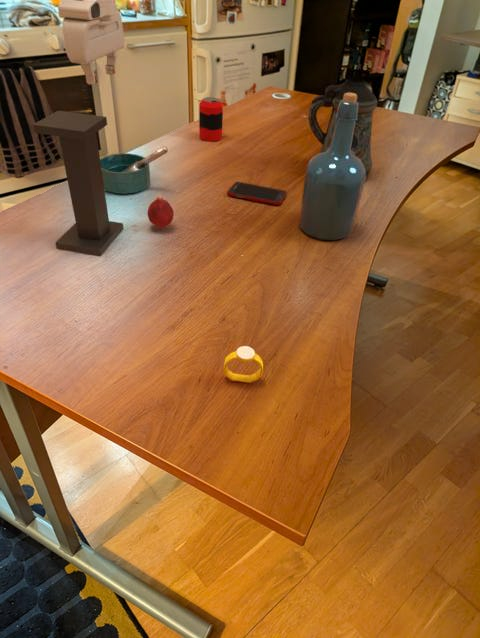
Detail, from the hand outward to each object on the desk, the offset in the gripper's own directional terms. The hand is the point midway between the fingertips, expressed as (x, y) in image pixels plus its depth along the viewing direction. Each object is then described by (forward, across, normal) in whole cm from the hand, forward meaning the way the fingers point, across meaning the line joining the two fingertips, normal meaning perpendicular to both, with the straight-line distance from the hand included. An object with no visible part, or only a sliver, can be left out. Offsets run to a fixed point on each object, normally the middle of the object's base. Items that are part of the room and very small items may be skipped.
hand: (101, 78), depth 101 cm
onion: (+27, +13, +17) cm, 35 cm away
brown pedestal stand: (+27, +22, +4) cm, 35 cm away
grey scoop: (+20, -6, +5) cm, 21 cm away
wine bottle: (+27, +2, +54) cm, 60 cm away
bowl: (+27, -6, 0) cm, 28 cm away
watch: (+27, +54, +45) cm, 76 cm away
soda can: (+27, -49, +12) cm, 57 cm away
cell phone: (+27, -11, +35) cm, 45 cm away
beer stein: (+26, -34, +55) cm, 70 cm away
